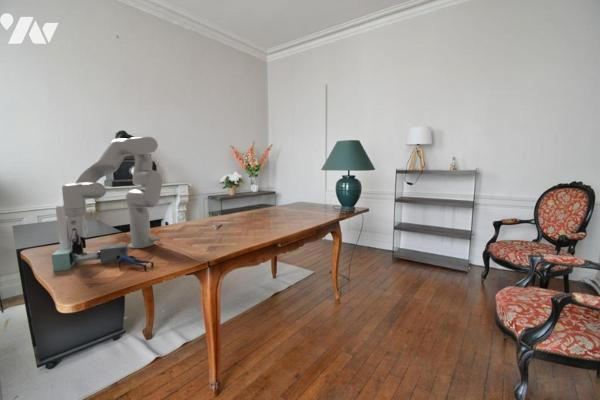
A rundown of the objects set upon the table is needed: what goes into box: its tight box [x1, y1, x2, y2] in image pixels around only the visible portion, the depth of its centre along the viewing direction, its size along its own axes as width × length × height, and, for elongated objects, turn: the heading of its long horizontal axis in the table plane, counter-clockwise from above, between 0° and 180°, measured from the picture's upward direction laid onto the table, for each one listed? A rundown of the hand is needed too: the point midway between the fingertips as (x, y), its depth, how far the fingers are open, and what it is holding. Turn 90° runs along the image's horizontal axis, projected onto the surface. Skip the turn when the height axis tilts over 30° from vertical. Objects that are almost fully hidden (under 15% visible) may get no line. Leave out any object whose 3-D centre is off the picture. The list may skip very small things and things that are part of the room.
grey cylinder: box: [55, 204, 76, 254], centre depth 139 cm, size 6×6×25 cm
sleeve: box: [99, 242, 129, 265], centre depth 131 cm, size 10×7×7 cm
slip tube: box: [69, 240, 101, 263], centre depth 126 cm, size 17×4×10 cm, turn 117°
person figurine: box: [117, 255, 154, 272], centre depth 123 cm, size 11×4×18 cm
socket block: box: [51, 248, 75, 272], centre depth 123 cm, size 6×9×7 cm, turn 27°
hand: (79, 250), depth 125 cm, fingers open, 7 cm apart
